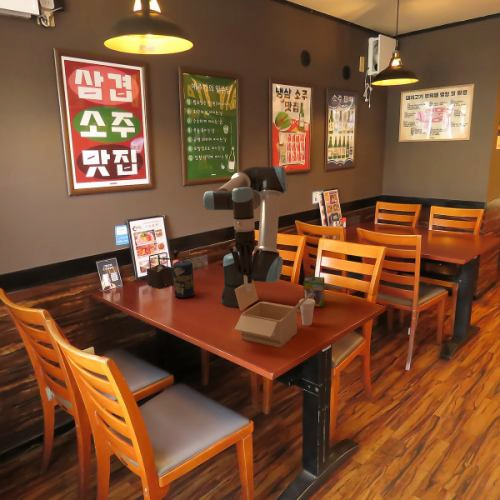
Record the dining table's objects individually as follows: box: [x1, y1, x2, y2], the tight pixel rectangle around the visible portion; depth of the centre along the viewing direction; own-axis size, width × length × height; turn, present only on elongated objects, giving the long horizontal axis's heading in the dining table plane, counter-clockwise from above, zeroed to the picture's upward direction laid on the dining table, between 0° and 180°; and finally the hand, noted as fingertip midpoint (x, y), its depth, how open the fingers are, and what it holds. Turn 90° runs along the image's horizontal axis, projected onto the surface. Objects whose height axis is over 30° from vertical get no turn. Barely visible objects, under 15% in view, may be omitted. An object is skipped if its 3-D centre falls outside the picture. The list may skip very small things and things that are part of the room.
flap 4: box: [283, 293, 312, 319], centre depth 151 cm, size 8×13×1 cm
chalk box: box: [303, 270, 325, 308], centre depth 191 cm, size 9×9×15 cm
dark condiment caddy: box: [146, 250, 180, 290], centre depth 227 cm, size 16×11×18 cm
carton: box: [240, 301, 298, 349], centre depth 159 cm, size 16×14×10 cm
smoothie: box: [298, 290, 315, 326], centre depth 169 cm, size 6×6×14 cm
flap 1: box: [235, 280, 259, 311], centre depth 161 cm, size 8×13×1 cm
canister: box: [172, 260, 195, 299], centre depth 206 cm, size 10×10×18 cm
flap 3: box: [261, 301, 301, 313], centre depth 167 cm, size 15×6×1 cm
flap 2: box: [234, 314, 277, 337], centre depth 149 cm, size 15×6×1 cm
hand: (247, 291), depth 161 cm, fingers closed
